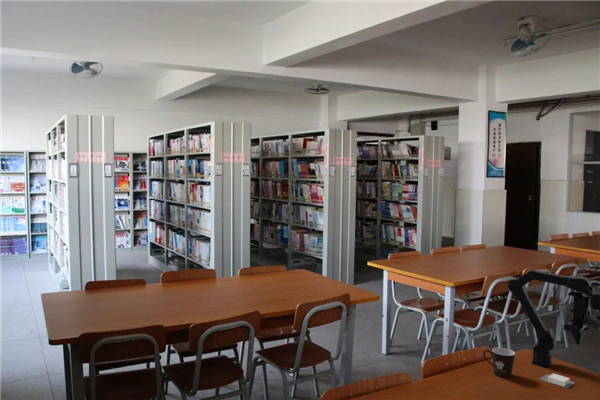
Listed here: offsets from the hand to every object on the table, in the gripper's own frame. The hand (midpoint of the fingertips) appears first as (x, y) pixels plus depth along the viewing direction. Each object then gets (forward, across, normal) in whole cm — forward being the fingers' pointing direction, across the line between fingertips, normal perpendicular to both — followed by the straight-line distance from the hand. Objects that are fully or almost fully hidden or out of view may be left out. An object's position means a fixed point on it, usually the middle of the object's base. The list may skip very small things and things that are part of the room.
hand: (578, 344), depth 196 cm
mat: (+12, -16, +2) cm, 20 cm away
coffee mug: (+12, -27, +20) cm, 36 cm away
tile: (+11, -14, +1) cm, 18 cm away
